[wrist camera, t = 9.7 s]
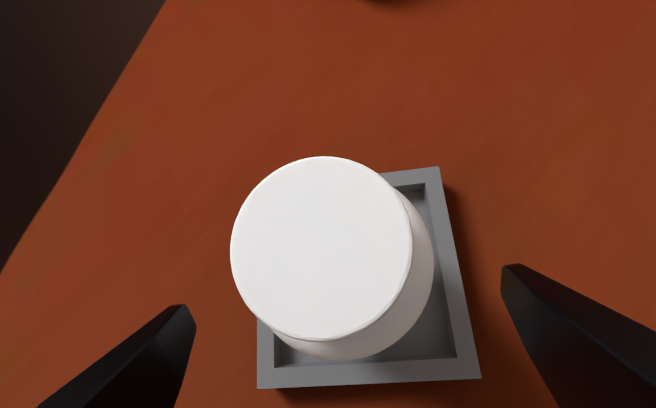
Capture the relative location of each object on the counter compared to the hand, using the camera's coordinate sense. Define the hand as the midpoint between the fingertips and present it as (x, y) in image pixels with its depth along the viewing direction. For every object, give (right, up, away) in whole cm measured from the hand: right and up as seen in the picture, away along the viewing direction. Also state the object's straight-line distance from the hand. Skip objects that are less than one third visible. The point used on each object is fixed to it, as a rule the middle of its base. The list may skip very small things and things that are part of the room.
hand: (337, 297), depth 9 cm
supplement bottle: (+2, -2, +11) cm, 11 cm away
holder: (+2, -2, +12) cm, 12 cm away
